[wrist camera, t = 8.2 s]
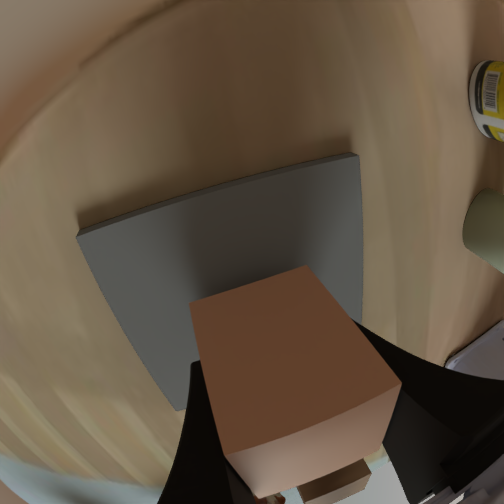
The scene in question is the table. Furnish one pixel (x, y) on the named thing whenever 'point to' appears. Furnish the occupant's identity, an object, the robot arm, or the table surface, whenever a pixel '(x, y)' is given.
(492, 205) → the sage cylinder
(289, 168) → the slate mat
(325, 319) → the terracotta brick
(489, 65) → the supplement bottle
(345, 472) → the walnut block
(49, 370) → the table surface
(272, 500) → the bull figurine
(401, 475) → the robot arm
